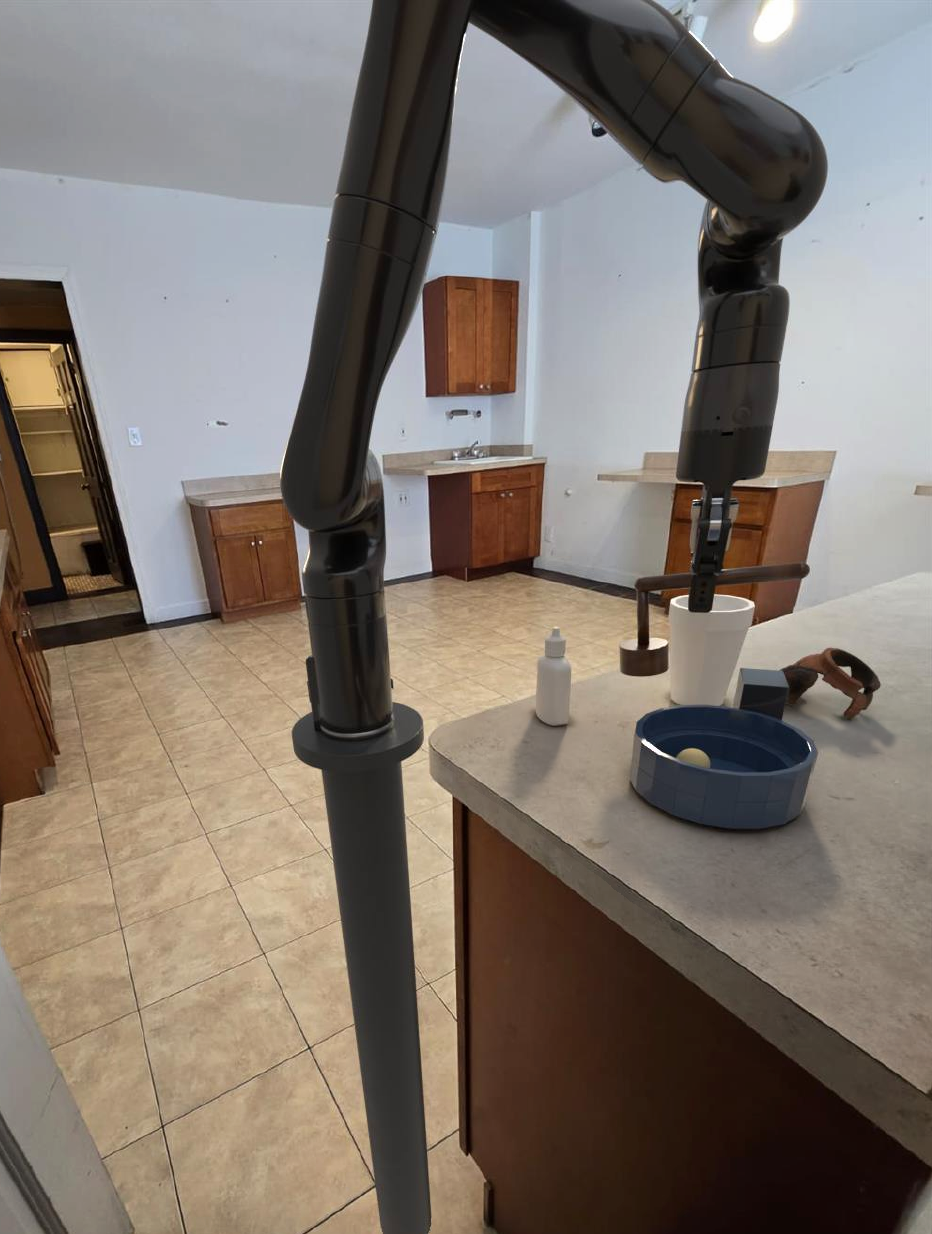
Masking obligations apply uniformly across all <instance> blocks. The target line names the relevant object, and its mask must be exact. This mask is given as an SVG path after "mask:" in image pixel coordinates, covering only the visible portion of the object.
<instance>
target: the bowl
mask: <svg viewBox="0 0 932 1234" xmlns="http://www.w3.org/2000/svg"><path fill="white" fill-rule="evenodd" d="M633 736H634V737H633V743H632V744H633V745H632V753H631V754H632V755H631V763H630V771H629V780H630V782H631V784H632V786H633V788H634V790H635V792H637V794H639V795H640V796H641V797H642V798H643V799H644V800H646V801H647V802H648V803H649V804H651V805H653V806H654V807H657V808H659V809H660V810H663V811H664V812H666V813H668V814H669V815H672V816H675V817H678V818H681V819H684V820H687V821H691V822H693V823H697V824H700V825H704V826H705V825H706V826H712V827H718V828H724V829H731V830H761V829H766V828H771V827H777V826H781V825H785V824H786V823H788V822H790V821H792V820H793V819H795V818H797V817H799V816H800V815H801V813H802V811H803V809H804V807H805V805H806V802H807V797H808V794H809V790H810V786H811V783H812V780H813V775H814V771H815V767H816V763H817V761H818V760H817V759H818V757H819V751H818V748H817V745H816V744H815V740H814V739H812V738H811V737H810V736H809V735H807V733H805V732H804V731H802V730H801V729H800V728H798V727H796V726H794V725H792V724H790V723H788V722H786V721H784V720H783V719H782V720H780V719H777V718H774V717H770V716H767V715H764V714H761V713H758V712H753V711H748V710H743V709H738V708H733V706H725V705H720V706H714V705H680V704H677V705H673V706H667V707H661V708H658V709H655V710H653V711H649V712H647V713H645V714H644V715H643V716H642V717H640V718H639V719H638V720H637V721H636V723H635V728H634V735H633ZM691 748H694V749H698V750H701V751H703V752H704V753H705V754H706V755H707V756H708V758H709V760H710V768H707V767H703V766H699V765H695V764H691V763H687V762H684V761H681V760H679V759H677V758H676V757H677V755H678V754H679V753H680V752H682V751H683V750H686V749H691Z"/></svg>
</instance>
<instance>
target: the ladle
mask: <svg viewBox="0 0 932 1234" xmlns="http://www.w3.org/2000/svg"><path fill="white" fill-rule="evenodd" d="M810 567H811V566H809V564H808V563H807V562H803V561H798V562H789V563H779V564H778V563H777V564H769V565H768V564H767V565H756V566H748V567H747V566H746V567H736V568H725V569H724V568H723V569H721V573H719V576H717V580H716V587H722V586H723V587H724V586H736V585H737V586H738V585H747V584H748V585H749V584H761V583H771V582H772V583H773V582H783V581H784V582H785V581H795V580H796V581H798V580H803V579H805V578H807V577H808V576H809V574H810V572H811V568H810ZM691 581H692V572H683V573H672V574H659V575H651V576H642V577H639V578H637V579H636V580H635V582H634V584H633V585H634V586H633V587H634V589H635V591H636V628H637V629H636V630H637V634H636V635H637V638H632V639H627V640H624V641H623V642H621V643H619V645H618V646H619V647H618V649H619V672H620V673H621V674H623V675H625V676H629V677H639V678H640V677H644V678H645V677H653V676H658V675H662V674H664V673H666V672H667V671H669V670H670V642H669V641H668V640H666V639H664V638H659V637H650V593H651V592H663V591H676V590H687V589H689V590H690V588H691Z"/></svg>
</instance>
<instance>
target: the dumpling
mask: <svg viewBox="0 0 932 1234" xmlns="http://www.w3.org/2000/svg"><path fill="white" fill-rule="evenodd" d="M676 758H677V759H679V760H681V761H684V762H687V763H691V764H695V765H699V766H703V767H707V768H710V760H709V758H708V756H707V755H706V754H705V753H704V752H703V751H701V750H698V749H694V748H691V749H686V750H683V751H682V752H680V753H679V754H678V755H677V757H676Z"/></svg>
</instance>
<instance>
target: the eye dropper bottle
mask: <svg viewBox="0 0 932 1234" xmlns="http://www.w3.org/2000/svg"><path fill="white" fill-rule="evenodd" d="M566 642H567V639H566V637H564V636H562V635H561V633H560V627H559V626H553V627H552V631H551V634H550V635H549V636H547V637H546V638H544V654H542V655H540V656H539V657H538V659H537V666H536V689H535V715H536V716H537V718H538V719H539V720H540V721H541V722H543V723H545V724H546V725H549V726H554V727H555V726H564V725H567V724H568V723H569V720H570V719H569V718H570V705H571V704H570V703H571V701H570V700H571V687H572V666H571V665H572V664H571V663H570V661H569V659H568V658H567V657H566V656H565V655H566Z"/></svg>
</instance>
